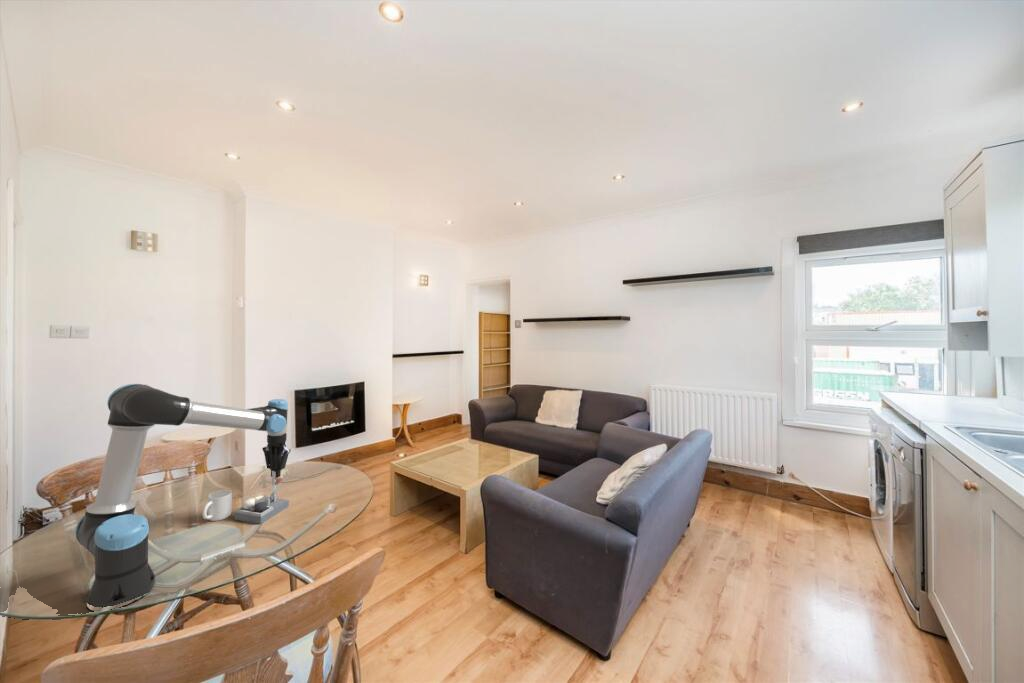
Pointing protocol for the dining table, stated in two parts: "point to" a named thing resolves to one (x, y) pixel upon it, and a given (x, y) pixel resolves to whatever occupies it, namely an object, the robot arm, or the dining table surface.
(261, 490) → the dining table surface
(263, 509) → the button black
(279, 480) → the lever
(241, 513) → the panel
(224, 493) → the mug
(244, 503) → the button ivory
